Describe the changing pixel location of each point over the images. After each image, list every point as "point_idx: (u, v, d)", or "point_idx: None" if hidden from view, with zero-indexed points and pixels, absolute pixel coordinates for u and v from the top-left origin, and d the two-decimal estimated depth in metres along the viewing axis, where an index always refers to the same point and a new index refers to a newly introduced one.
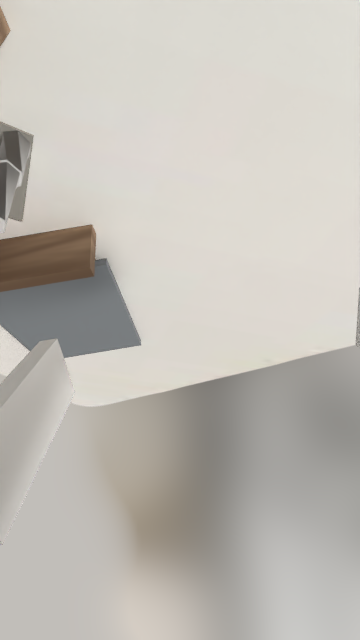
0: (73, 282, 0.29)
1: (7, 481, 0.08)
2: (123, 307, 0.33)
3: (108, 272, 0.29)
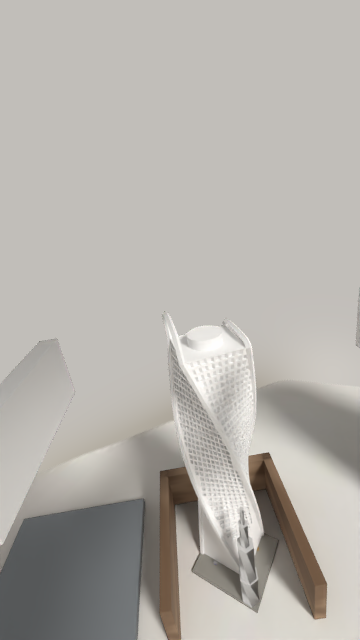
0: (122, 595, 0.29)
1: (7, 481, 0.08)
2: None
3: None
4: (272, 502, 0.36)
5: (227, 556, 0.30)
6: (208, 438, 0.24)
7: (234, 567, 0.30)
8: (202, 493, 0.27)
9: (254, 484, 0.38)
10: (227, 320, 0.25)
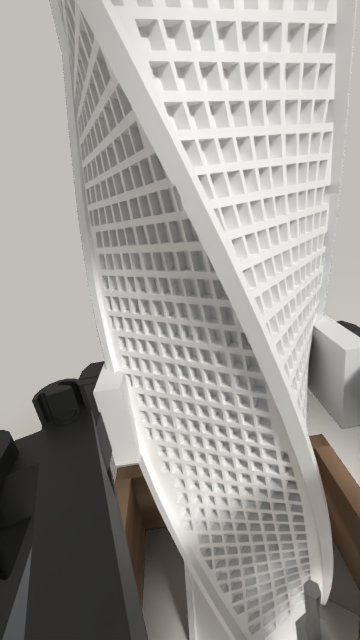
0: None
1: None
2: None
3: None
4: (333, 530, 0.18)
5: None
6: (189, 342, 0.07)
7: None
8: (183, 522, 0.10)
9: None
10: None
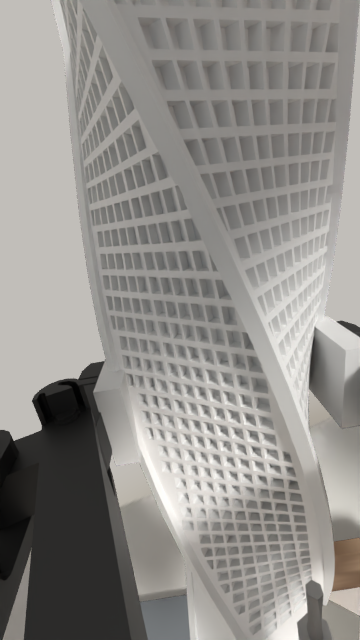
0: None
1: None
2: None
3: None
4: None
5: None
6: (191, 342, 0.07)
7: None
8: (184, 522, 0.10)
9: None
10: None
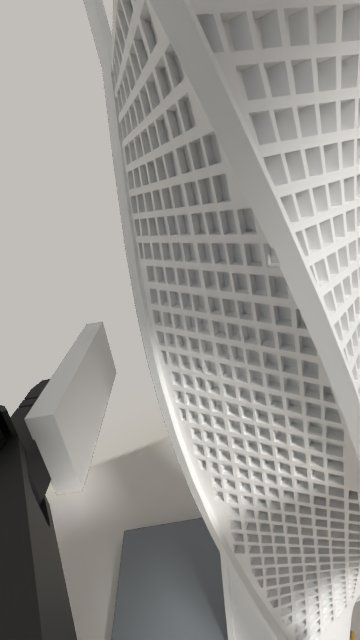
0: None
1: (81, 438, 0.09)
2: None
3: None
4: None
5: None
6: (257, 386, 0.07)
7: None
8: (235, 546, 0.10)
9: None
10: None
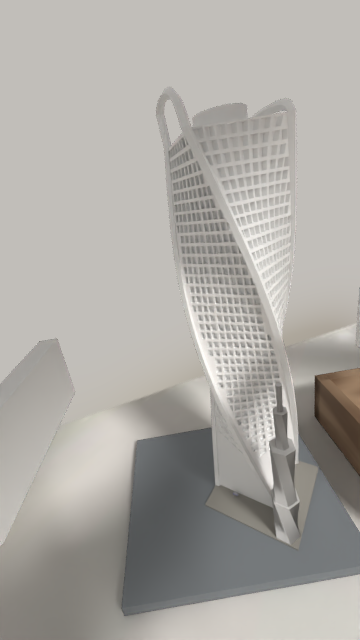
0: (321, 508, 0.22)
1: (7, 481, 0.08)
2: (268, 580, 0.18)
3: None
4: None
5: (252, 482, 0.22)
6: (227, 285, 0.16)
7: (262, 497, 0.22)
8: (218, 385, 0.19)
9: None
10: (252, 117, 0.17)
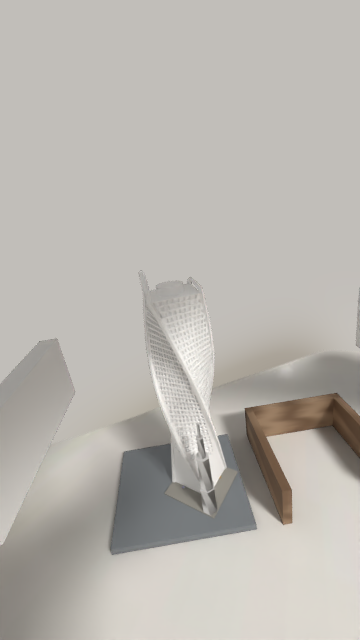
0: (233, 495, 0.36)
1: (7, 481, 0.08)
2: (194, 534, 0.32)
3: (246, 524, 0.32)
4: (342, 432, 0.42)
5: (193, 479, 0.36)
6: (173, 369, 0.31)
7: (198, 488, 0.36)
8: (170, 420, 0.34)
9: (323, 420, 0.45)
10: (189, 278, 0.32)
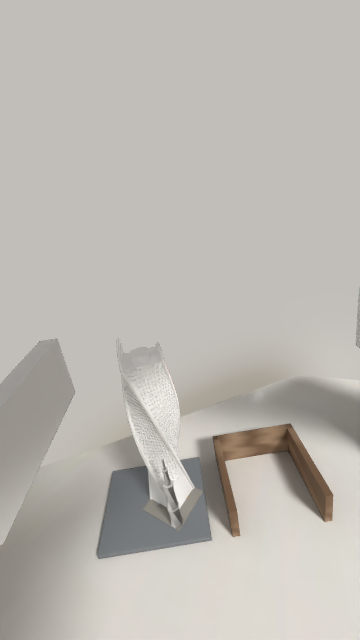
0: (197, 512, 0.44)
1: (7, 481, 0.08)
2: (162, 543, 0.41)
3: (203, 536, 0.41)
4: (293, 457, 0.51)
5: (164, 498, 0.45)
6: (143, 416, 0.40)
7: None
8: (144, 453, 0.42)
9: (279, 446, 0.53)
10: (157, 343, 0.40)
